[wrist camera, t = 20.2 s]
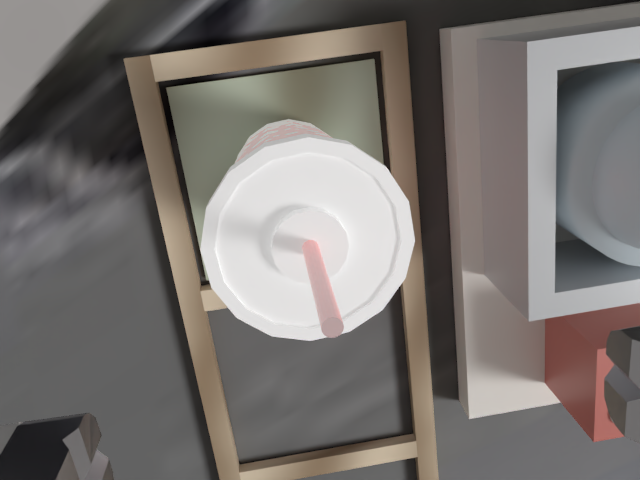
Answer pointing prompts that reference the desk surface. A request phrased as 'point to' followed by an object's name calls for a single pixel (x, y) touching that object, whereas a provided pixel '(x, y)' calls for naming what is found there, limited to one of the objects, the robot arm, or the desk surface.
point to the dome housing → (528, 218)
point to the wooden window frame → (221, 153)
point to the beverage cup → (306, 234)
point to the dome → (600, 159)
